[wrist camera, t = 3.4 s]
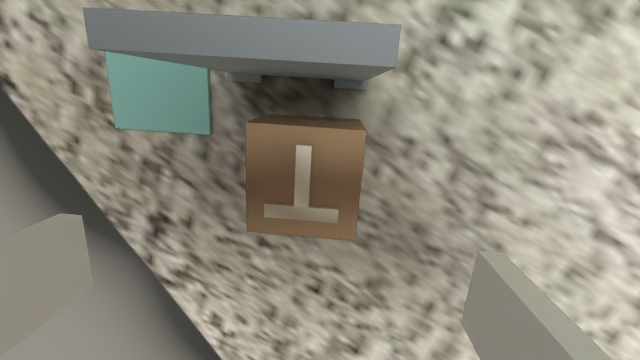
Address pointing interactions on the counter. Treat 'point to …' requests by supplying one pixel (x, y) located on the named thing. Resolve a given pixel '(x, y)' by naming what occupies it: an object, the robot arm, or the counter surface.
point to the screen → (250, 44)
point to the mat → (159, 95)
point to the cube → (304, 175)
